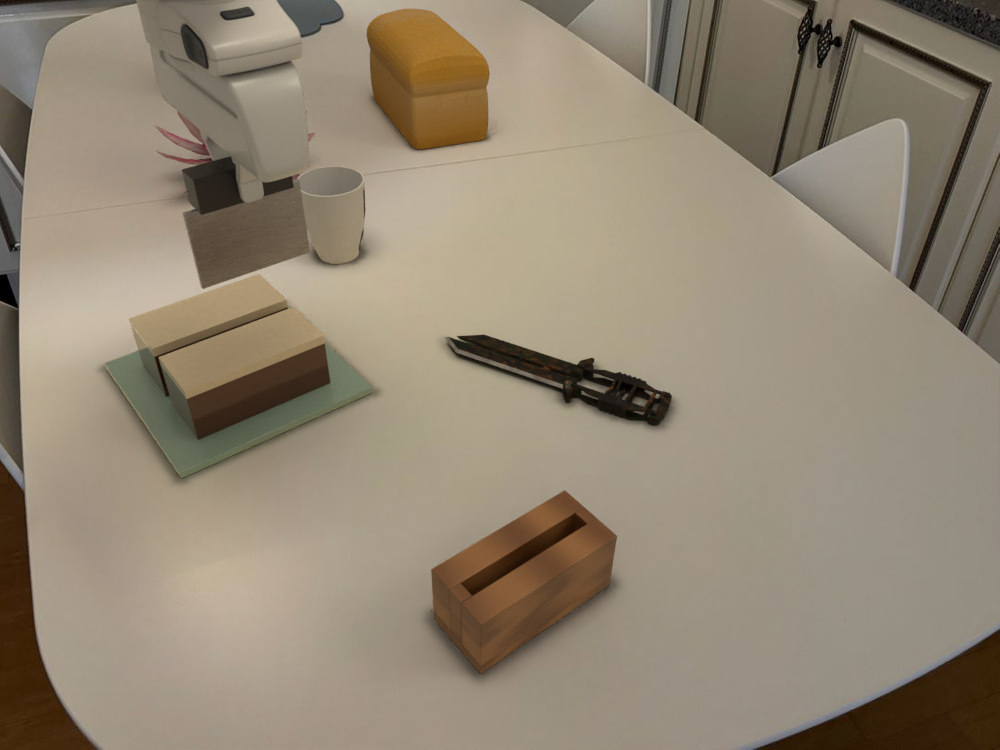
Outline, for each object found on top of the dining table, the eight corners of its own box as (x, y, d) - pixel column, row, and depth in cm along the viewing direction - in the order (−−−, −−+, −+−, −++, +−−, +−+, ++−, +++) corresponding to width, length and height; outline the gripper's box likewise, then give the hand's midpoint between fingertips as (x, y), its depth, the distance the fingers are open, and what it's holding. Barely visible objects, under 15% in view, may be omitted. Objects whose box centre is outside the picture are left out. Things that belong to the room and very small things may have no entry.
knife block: (480, 674, 62) (480, 625, 58) (433, 618, 66) (430, 569, 62) (609, 585, 68) (617, 535, 65) (560, 539, 72) (565, 489, 68)
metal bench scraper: (207, 294, 71) (180, 183, 64) (196, 282, 72) (168, 172, 66) (315, 257, 75) (300, 150, 69) (303, 246, 77) (286, 140, 71)
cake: (181, 478, 77) (164, 422, 72) (106, 368, 89) (87, 315, 85) (372, 392, 87) (366, 338, 82) (281, 304, 99) (272, 253, 94)
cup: (381, 260, 107) (375, 186, 100) (319, 277, 103) (309, 202, 97) (356, 232, 112) (348, 160, 106) (296, 247, 109) (285, 174, 103)
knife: (437, 349, 93) (436, 339, 92) (471, 321, 97) (470, 310, 96) (649, 437, 82) (651, 426, 81) (676, 401, 86) (678, 390, 85)
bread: (370, 96, 149) (363, 6, 140) (439, 87, 153) (437, -1, 144) (413, 151, 132) (408, 53, 123) (490, 139, 136) (491, 43, 126)
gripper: (111, -17, 65) (155, 154, 74) (221, 58, 53) (258, 253, 61) (191, -29, 68) (224, 136, 77) (313, 39, 56) (336, 227, 64)
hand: (240, 189), depth 69 cm, fingers closed on metal bench scraper, 2 cm apart
